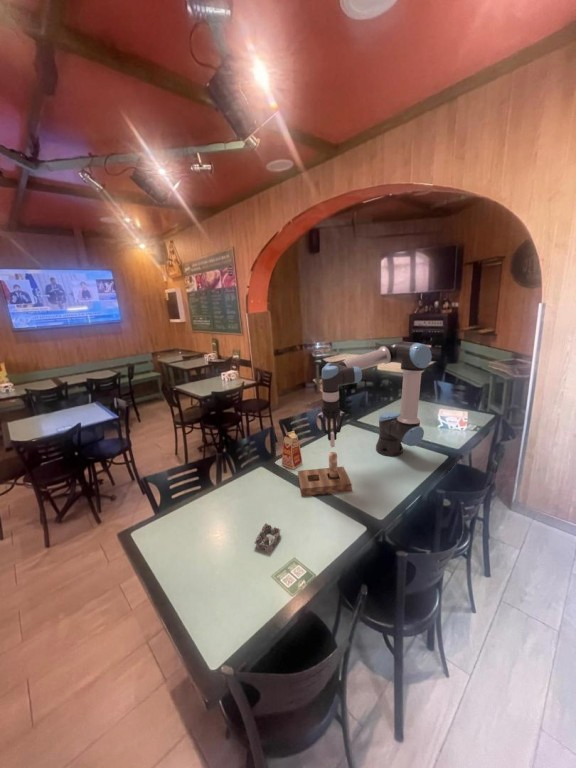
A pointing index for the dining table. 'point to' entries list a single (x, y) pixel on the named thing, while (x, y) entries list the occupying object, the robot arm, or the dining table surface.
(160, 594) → the dining table surface
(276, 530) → the egg carton
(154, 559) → the dining table surface
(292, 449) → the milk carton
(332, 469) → the peg
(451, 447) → the dining table surface
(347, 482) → the board
